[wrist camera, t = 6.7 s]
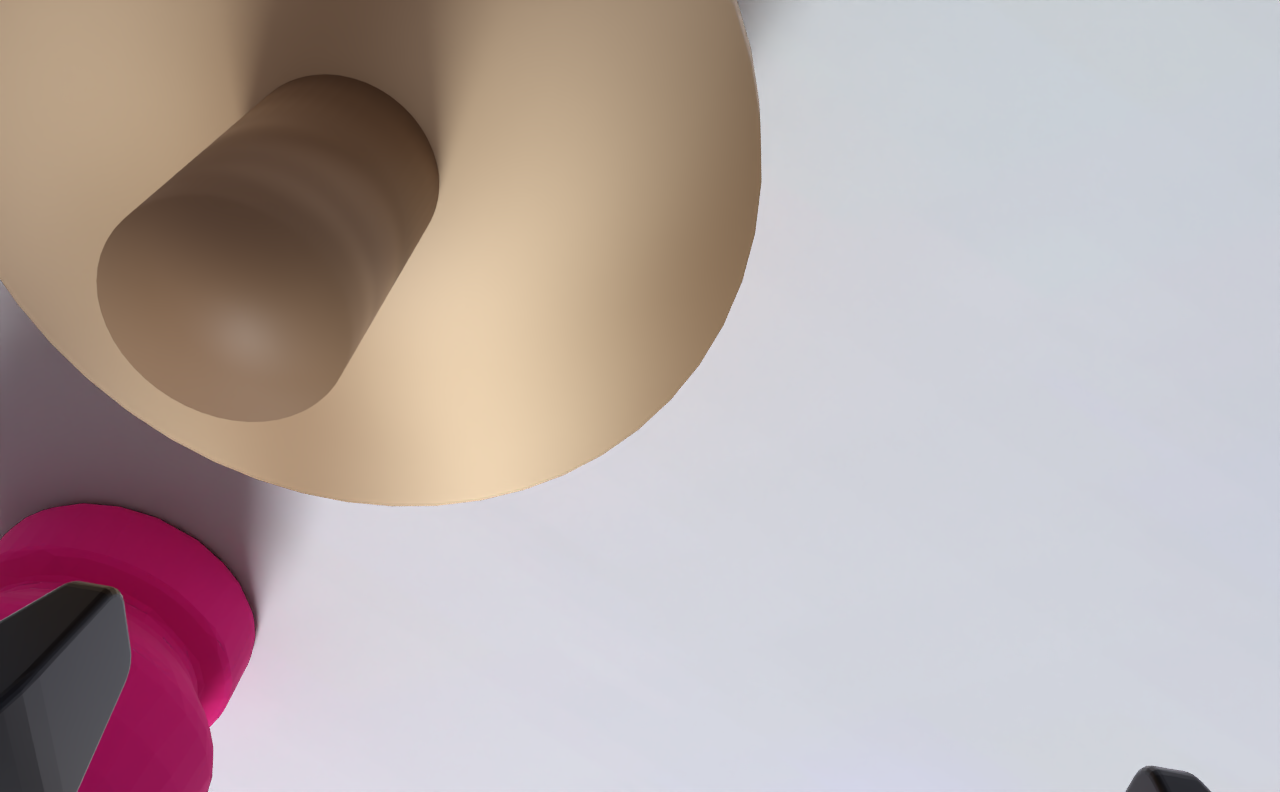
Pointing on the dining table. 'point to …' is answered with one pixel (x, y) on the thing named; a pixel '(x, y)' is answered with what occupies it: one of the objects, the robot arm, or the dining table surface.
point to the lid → (380, 224)
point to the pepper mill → (144, 635)
